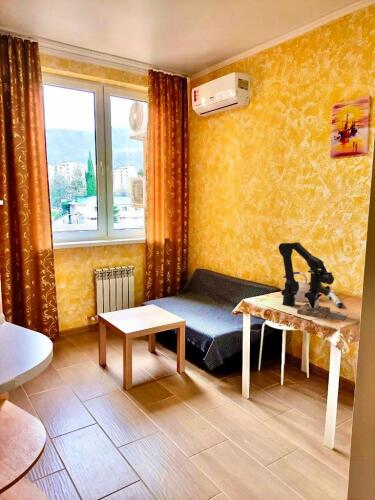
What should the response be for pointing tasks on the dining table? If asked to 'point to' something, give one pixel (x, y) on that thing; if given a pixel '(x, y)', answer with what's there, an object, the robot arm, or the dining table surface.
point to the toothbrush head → (335, 299)
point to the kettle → (301, 289)
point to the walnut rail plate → (319, 313)
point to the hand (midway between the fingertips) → (313, 306)
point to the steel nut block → (314, 306)
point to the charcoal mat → (336, 316)
